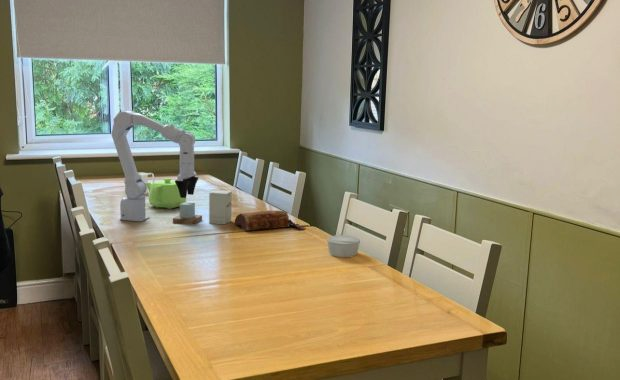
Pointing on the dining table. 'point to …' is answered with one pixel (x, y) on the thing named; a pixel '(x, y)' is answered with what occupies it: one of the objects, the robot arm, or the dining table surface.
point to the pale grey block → (187, 210)
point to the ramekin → (343, 245)
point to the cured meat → (264, 220)
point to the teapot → (164, 194)
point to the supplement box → (220, 207)
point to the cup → (146, 178)
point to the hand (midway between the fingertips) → (187, 196)
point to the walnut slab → (187, 219)
